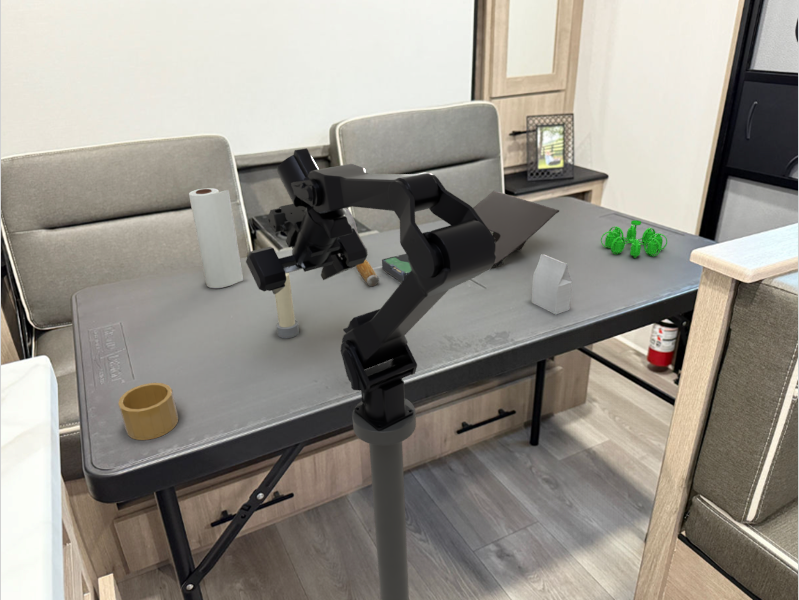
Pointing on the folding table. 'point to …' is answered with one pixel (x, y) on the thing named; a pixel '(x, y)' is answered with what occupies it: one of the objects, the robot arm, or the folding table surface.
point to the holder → (148, 411)
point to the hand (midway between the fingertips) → (298, 284)
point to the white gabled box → (552, 285)
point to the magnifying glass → (365, 267)
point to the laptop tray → (511, 221)
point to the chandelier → (634, 240)
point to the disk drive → (397, 266)
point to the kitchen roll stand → (286, 312)
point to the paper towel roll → (216, 237)
